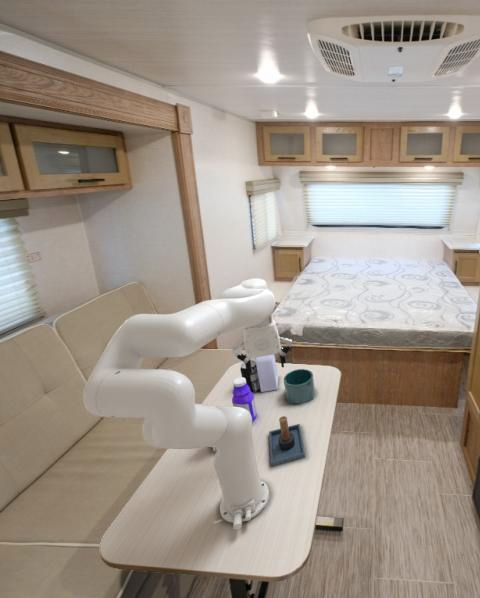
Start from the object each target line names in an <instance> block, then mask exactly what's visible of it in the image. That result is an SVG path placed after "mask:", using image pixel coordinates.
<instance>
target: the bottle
mask: <svg viewBox="0 0 480 598" xmlns="http://www.w3.org/2000/svg"><path fill="white" fill-rule="evenodd" d="M232 383H233V390H232V397H231V402H232V406H233V407H240V408H244V409H246V410H248V411H249V412H250V414H251V416H252V423H254V422H255V420H256V419H257V417H258V412H257V406H256V400H255V396H254V394H253V393H254V392H253V393H252V392H251V391H250V387H249V386H248V385H247V383H246V379H245V378H243V377H242V376H239V377H236V378H235V379H233V381H232Z"/></svg>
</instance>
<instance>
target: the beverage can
mask: <svg viewBox="0 0 480 598" xmlns="http://www.w3.org/2000/svg"><path fill="white" fill-rule="evenodd" d="M250 361H251V366H252V373H251V374H249V370H246V365H245V363H244V362H242V363H241V364H240V367H239V368H240V369H239V370H240V374H241V377H243V378H245V379H246V383H247V385H248V386H249V387H250V391H251V392H252V393H256V392H258V391H259V390H261V388H260V382H259V377H258V372H257V366H256V360H251V359H250Z"/></svg>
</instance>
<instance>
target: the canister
mask: <svg viewBox="0 0 480 598" xmlns="http://www.w3.org/2000/svg"><path fill="white" fill-rule="evenodd" d="M283 384H284V391H285V398H286V399H285V400H286V401H287V403H289V404H291V405H294V406H297V405H301V404H306V403H309V402H311V401H312V400H313V399H314V398H315V396H316V387H315V381H314V374H313V371H311V370H309V369H305V368H299V369H294V370H291V371H289V372H288V373H286V374H285V375H284V376H283Z"/></svg>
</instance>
